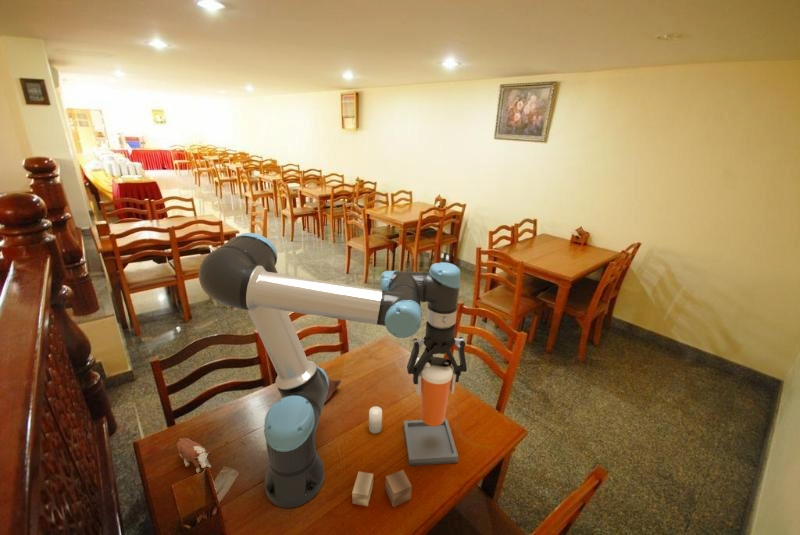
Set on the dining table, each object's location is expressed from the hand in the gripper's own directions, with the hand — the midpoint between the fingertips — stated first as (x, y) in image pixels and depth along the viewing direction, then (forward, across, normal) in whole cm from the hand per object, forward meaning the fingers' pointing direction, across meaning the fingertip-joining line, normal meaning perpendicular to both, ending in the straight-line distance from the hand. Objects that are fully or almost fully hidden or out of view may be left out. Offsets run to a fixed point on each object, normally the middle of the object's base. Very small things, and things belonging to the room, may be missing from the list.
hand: (434, 391), depth 99 cm
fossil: (+20, -34, +22) cm, 45 cm away
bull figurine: (+20, -65, -3) cm, 68 cm away
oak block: (+20, -20, -14) cm, 32 cm away
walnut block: (+20, -11, -15) cm, 27 cm away
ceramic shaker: (+20, -16, +7) cm, 27 cm away
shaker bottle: (+10, 0, 0) cm, 10 cm away
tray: (+20, 0, 0) cm, 20 cm away
